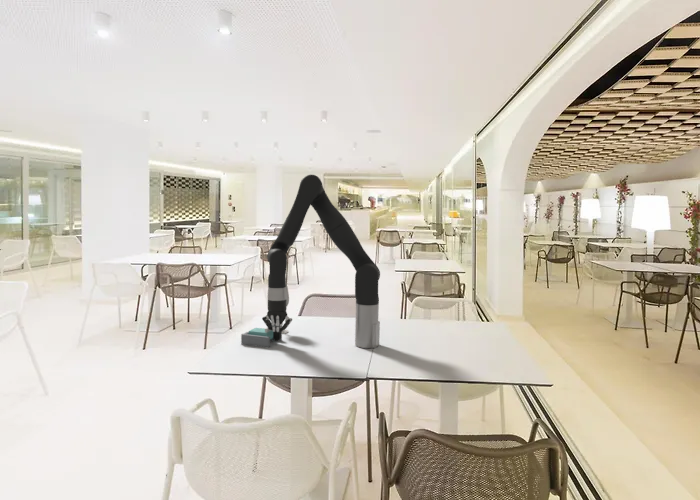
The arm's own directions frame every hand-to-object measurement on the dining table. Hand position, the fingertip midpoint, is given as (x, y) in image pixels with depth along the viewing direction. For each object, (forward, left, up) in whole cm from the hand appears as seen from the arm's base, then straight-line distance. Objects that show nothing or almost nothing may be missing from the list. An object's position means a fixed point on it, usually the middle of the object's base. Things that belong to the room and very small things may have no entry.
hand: (277, 340), depth 196 cm
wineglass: (+8, -18, -2) cm, 20 cm away
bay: (+6, 0, -2) cm, 7 cm away
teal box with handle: (+7, 0, -2) cm, 8 cm away
